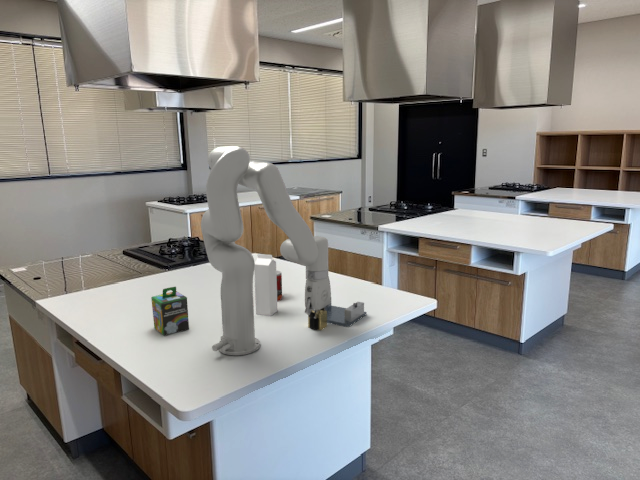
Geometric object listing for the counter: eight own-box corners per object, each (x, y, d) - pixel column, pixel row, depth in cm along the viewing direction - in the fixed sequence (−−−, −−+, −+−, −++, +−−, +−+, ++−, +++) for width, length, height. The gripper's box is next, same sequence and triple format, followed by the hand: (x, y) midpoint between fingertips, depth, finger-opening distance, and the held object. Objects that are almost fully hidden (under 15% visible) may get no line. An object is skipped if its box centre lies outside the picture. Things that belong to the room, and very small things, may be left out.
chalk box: (179, 322, 164) (176, 281, 161) (190, 329, 157) (187, 287, 154) (153, 328, 158) (149, 286, 155) (163, 336, 151) (159, 292, 148)
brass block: (320, 330, 155) (320, 314, 154) (308, 327, 157) (308, 311, 156) (327, 326, 158) (326, 310, 157) (314, 323, 161) (314, 308, 160)
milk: (263, 309, 176) (261, 252, 172) (277, 310, 174) (276, 253, 170) (255, 314, 171) (253, 255, 167) (270, 316, 169) (268, 256, 165)
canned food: (279, 302, 184) (278, 275, 182) (259, 301, 185) (258, 274, 183) (284, 296, 191) (283, 270, 189) (265, 295, 193) (265, 269, 191)
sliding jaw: (351, 322, 159) (351, 308, 158) (344, 320, 160) (344, 306, 159) (364, 313, 167) (364, 300, 166) (357, 312, 168) (357, 298, 167)
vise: (348, 327, 157) (348, 312, 156) (308, 318, 165) (308, 305, 165) (366, 314, 169) (366, 301, 168) (328, 307, 177) (328, 294, 176)
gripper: (313, 281, 145) (313, 337, 149) (339, 269, 159) (339, 320, 163) (293, 278, 149) (294, 332, 153) (320, 267, 163) (321, 317, 167)
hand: (317, 325), depth 158 cm, fingers closed on brass block, 4 cm apart
